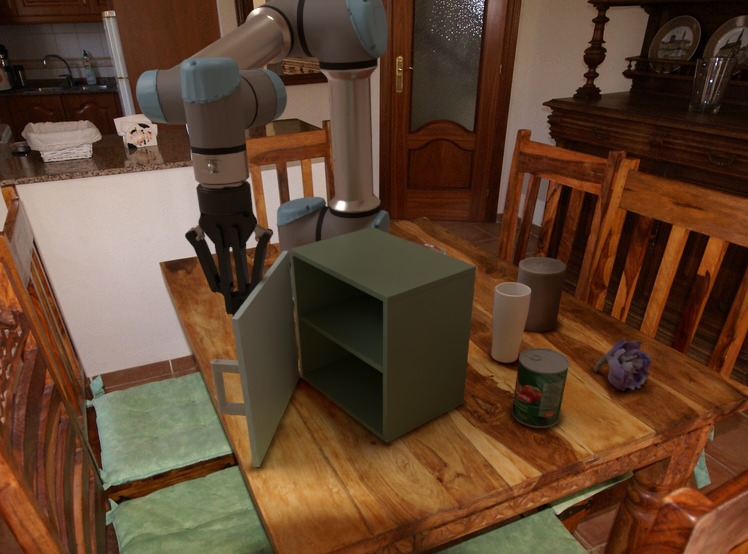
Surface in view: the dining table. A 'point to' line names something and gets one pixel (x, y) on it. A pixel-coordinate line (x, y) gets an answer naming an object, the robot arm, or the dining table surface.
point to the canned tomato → (539, 387)
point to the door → (263, 357)
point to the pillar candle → (542, 291)
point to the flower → (626, 365)
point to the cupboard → (383, 327)
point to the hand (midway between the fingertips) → (241, 331)
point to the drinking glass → (509, 320)
